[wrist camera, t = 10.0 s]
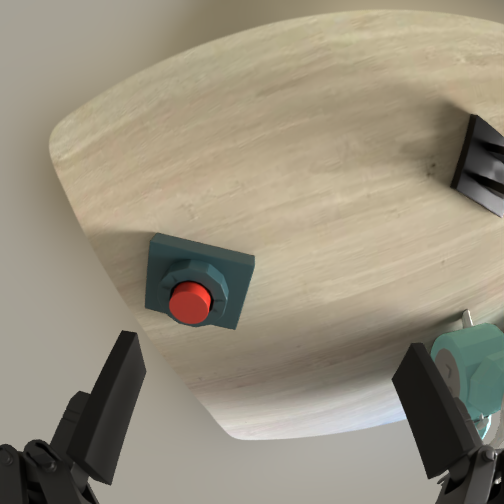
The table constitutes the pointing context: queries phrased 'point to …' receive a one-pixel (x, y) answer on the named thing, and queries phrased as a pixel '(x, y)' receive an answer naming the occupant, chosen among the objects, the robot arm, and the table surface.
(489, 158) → the bracket
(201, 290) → the button
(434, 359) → the alarm clock
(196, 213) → the table surface
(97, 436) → the robot arm
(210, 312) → the button box
